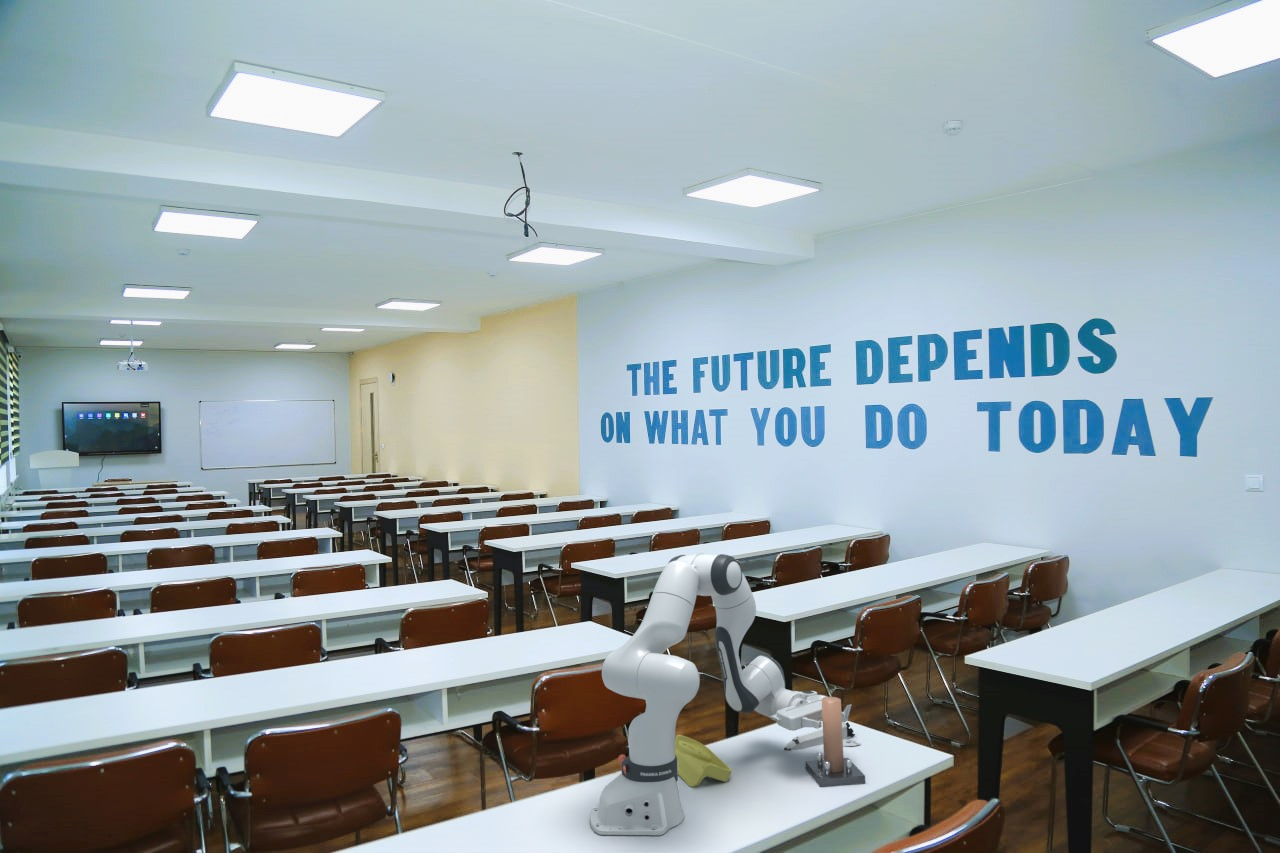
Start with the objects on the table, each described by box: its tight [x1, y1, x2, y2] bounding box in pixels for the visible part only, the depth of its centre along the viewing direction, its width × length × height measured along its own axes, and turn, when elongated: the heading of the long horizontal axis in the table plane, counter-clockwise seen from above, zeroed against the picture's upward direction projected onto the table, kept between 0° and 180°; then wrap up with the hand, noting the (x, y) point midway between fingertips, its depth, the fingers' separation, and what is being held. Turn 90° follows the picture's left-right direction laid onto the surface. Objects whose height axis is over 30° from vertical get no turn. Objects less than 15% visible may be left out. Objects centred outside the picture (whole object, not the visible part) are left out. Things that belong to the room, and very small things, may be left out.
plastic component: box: [675, 734, 732, 788], centre depth 216 cm, size 20×7×10 cm
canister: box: [821, 696, 844, 772], centre depth 210 cm, size 5×5×18 cm
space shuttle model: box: [783, 703, 862, 751], centre depth 234 cm, size 16×25×10 cm, turn 114°
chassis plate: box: [804, 751, 866, 788], centre depth 210 cm, size 12×12×5 cm
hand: (831, 720), depth 211 cm, fingers open, 8 cm apart
